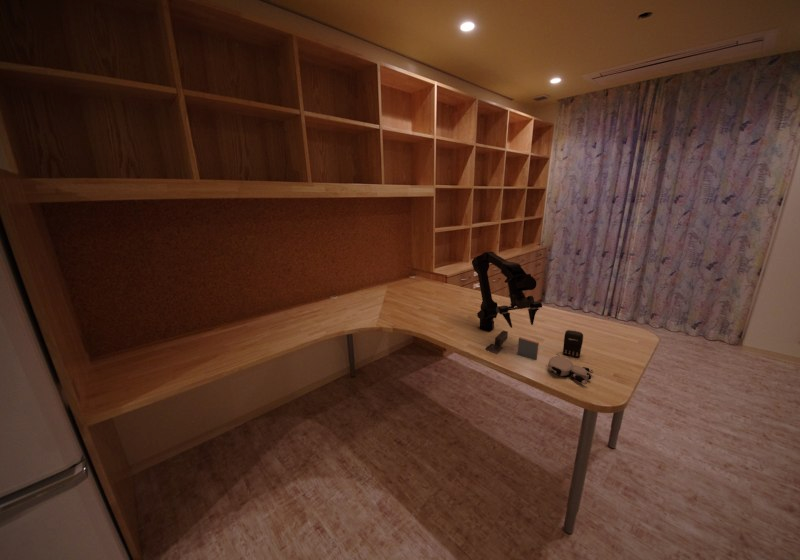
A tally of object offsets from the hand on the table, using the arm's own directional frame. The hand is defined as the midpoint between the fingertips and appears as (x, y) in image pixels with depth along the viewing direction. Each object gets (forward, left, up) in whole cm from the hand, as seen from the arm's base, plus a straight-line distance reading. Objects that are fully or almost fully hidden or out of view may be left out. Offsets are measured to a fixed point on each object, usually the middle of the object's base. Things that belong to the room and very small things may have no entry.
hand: (521, 326), depth 129 cm
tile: (+4, -2, -13) cm, 13 cm away
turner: (-10, 0, -13) cm, 16 cm away
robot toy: (+21, -6, -13) cm, 25 cm away
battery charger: (+19, +10, -13) cm, 25 cm away
